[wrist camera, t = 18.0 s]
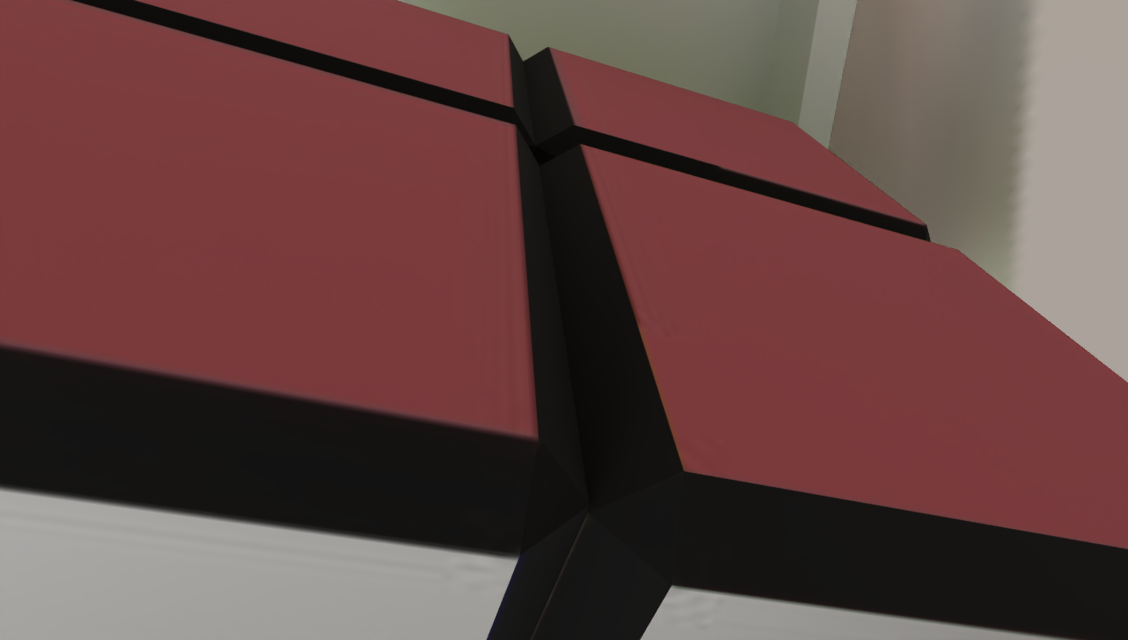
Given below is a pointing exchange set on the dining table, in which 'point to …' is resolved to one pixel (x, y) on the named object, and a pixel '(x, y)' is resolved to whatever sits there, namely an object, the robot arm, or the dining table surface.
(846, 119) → the dining table surface
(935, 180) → the dining table surface
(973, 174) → the dining table surface
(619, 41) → the tray
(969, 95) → the dining table surface
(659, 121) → the puzzle cube
